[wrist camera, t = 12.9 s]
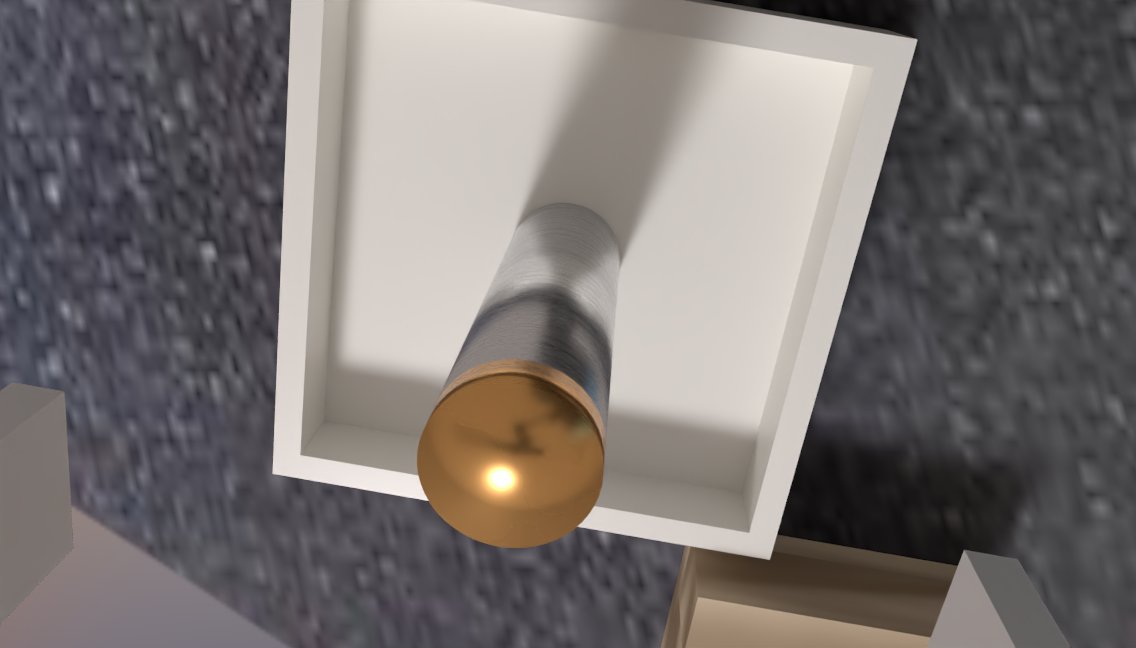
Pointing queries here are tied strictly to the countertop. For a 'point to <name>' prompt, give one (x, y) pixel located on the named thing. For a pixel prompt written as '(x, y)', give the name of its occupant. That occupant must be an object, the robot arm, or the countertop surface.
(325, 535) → the countertop surface
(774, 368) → the rectangular frame
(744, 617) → the socket block
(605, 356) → the pin
